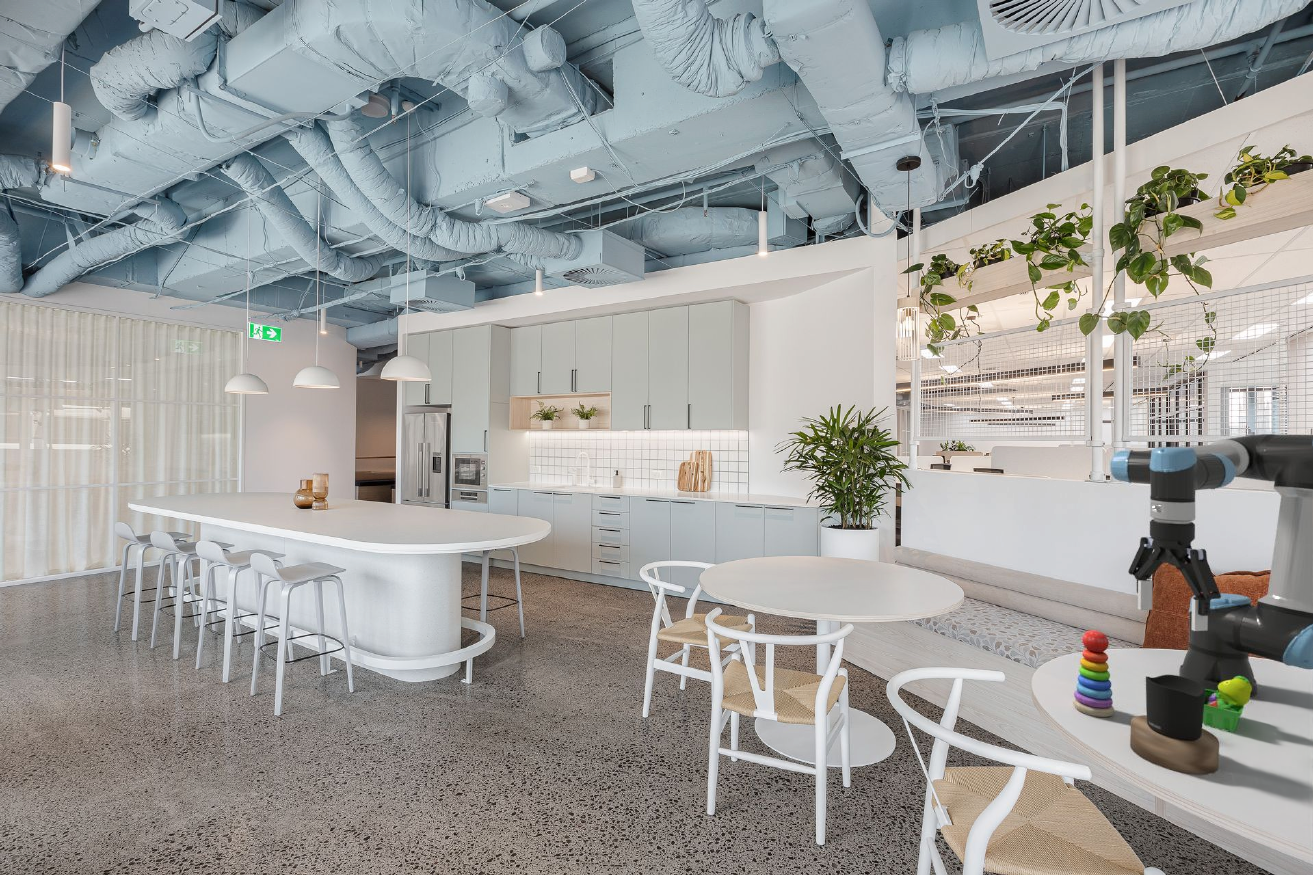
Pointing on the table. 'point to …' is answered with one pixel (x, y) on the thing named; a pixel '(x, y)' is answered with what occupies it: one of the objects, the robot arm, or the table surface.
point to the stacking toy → (1094, 677)
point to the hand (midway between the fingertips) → (1170, 619)
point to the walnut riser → (1175, 749)
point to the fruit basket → (1226, 703)
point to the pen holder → (1175, 706)
